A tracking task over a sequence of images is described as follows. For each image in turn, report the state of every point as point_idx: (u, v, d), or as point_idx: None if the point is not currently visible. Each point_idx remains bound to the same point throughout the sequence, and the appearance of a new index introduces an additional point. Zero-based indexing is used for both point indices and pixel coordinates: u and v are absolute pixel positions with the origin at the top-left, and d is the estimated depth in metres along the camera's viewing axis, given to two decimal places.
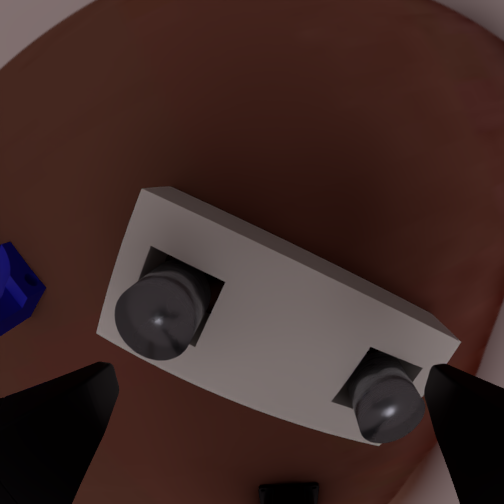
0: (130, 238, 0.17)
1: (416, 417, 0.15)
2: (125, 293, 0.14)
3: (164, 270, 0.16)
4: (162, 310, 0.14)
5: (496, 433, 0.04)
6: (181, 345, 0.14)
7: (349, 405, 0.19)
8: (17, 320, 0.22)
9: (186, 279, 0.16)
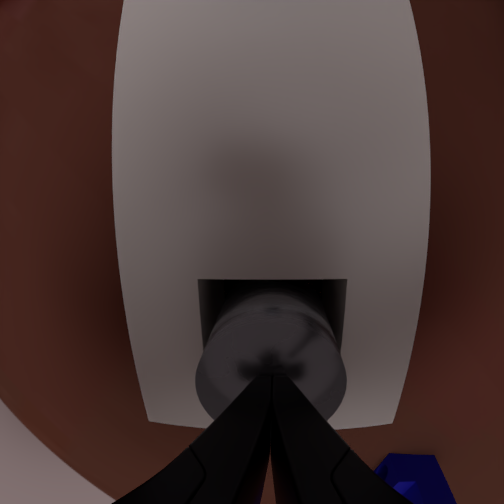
0: None
1: None
2: None
3: None
4: (232, 381, 0.08)
5: (284, 471, 0.04)
6: (284, 334, 0.07)
7: None
8: (434, 480, 0.14)
9: None
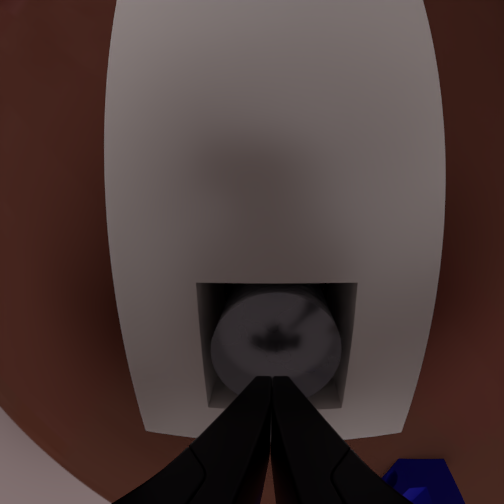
0: None
1: None
2: None
3: None
4: (243, 348, 0.09)
5: (284, 471, 0.04)
6: (287, 304, 0.09)
7: None
8: (444, 484, 0.14)
9: None
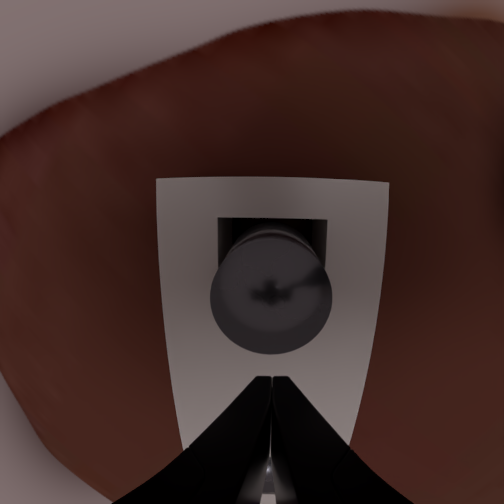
0: None
1: (254, 257, 0.10)
2: None
3: None
4: None
5: (284, 471, 0.04)
6: (269, 463, 0.16)
7: None
8: None
9: None
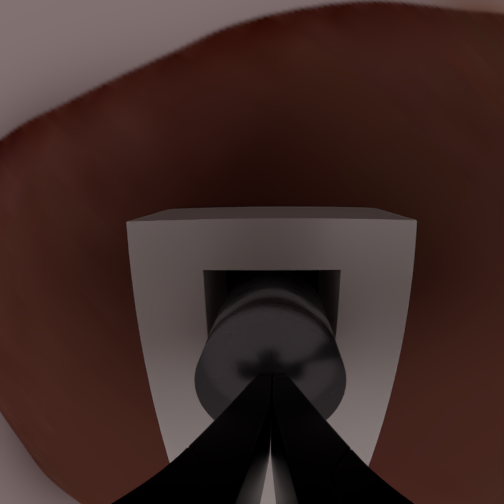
0: None
1: (247, 341, 0.07)
2: None
3: None
4: None
5: (284, 471, 0.04)
6: None
7: None
8: None
9: None
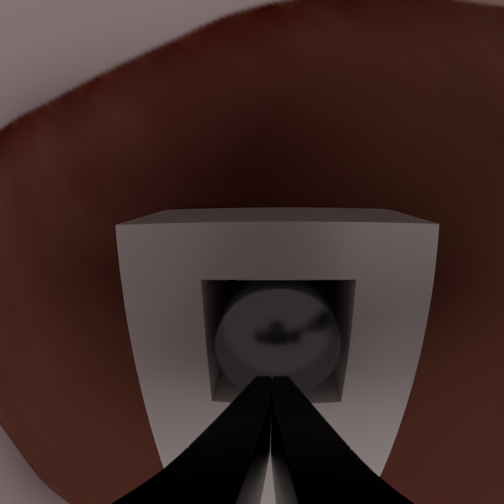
0: None
1: (259, 307, 0.09)
2: None
3: None
4: None
5: (283, 471, 0.04)
6: None
7: (345, 362, 0.10)
8: None
9: None
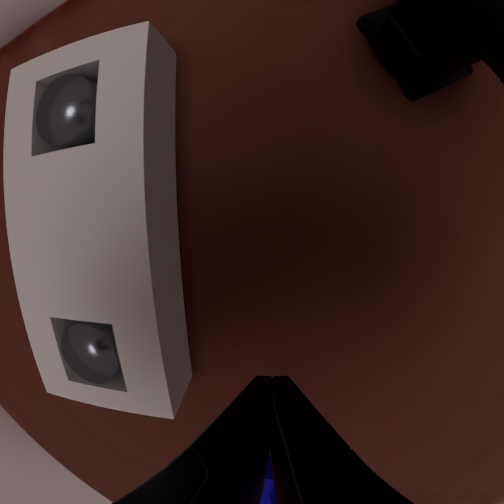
0: (75, 396, 0.17)
1: (55, 86, 0.13)
2: (82, 377, 0.17)
3: None
4: (73, 350, 0.16)
5: (284, 471, 0.04)
6: (84, 331, 0.16)
7: (98, 114, 0.13)
8: None
9: None
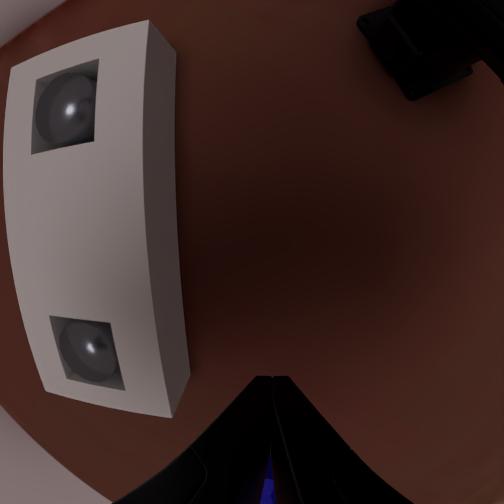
0: (73, 394, 0.17)
1: (55, 84, 0.13)
2: (80, 375, 0.17)
3: None
4: (71, 348, 0.16)
5: (284, 471, 0.04)
6: (82, 329, 0.16)
7: (97, 113, 0.13)
8: None
9: None
